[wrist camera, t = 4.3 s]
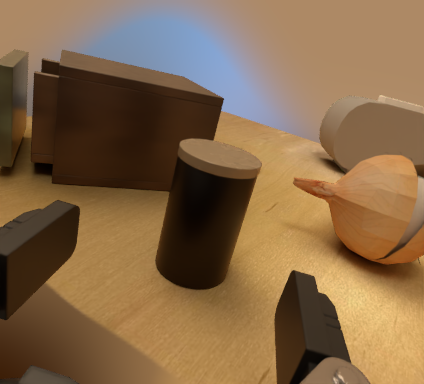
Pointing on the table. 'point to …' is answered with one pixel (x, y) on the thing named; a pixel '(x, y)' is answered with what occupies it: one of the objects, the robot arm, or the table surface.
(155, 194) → the table surface
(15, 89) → the drawer
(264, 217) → the table surface
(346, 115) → the alarm clock
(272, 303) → the table surface
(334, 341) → the robot arm
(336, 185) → the sculpture
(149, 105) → the cabinet
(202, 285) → the tin
